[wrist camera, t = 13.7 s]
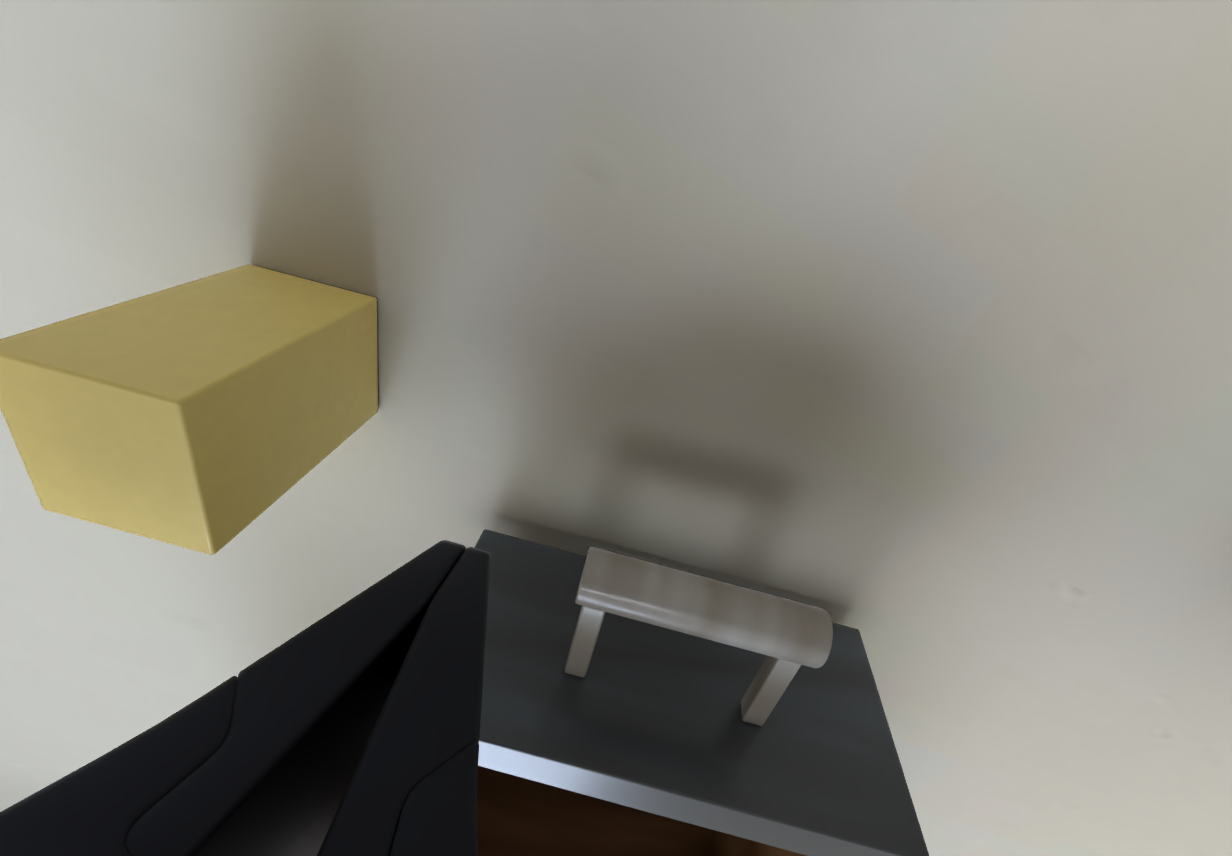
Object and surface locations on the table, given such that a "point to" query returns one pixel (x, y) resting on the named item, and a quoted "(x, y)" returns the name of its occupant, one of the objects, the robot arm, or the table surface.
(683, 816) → the drawer
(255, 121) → the table surface
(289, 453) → the block
